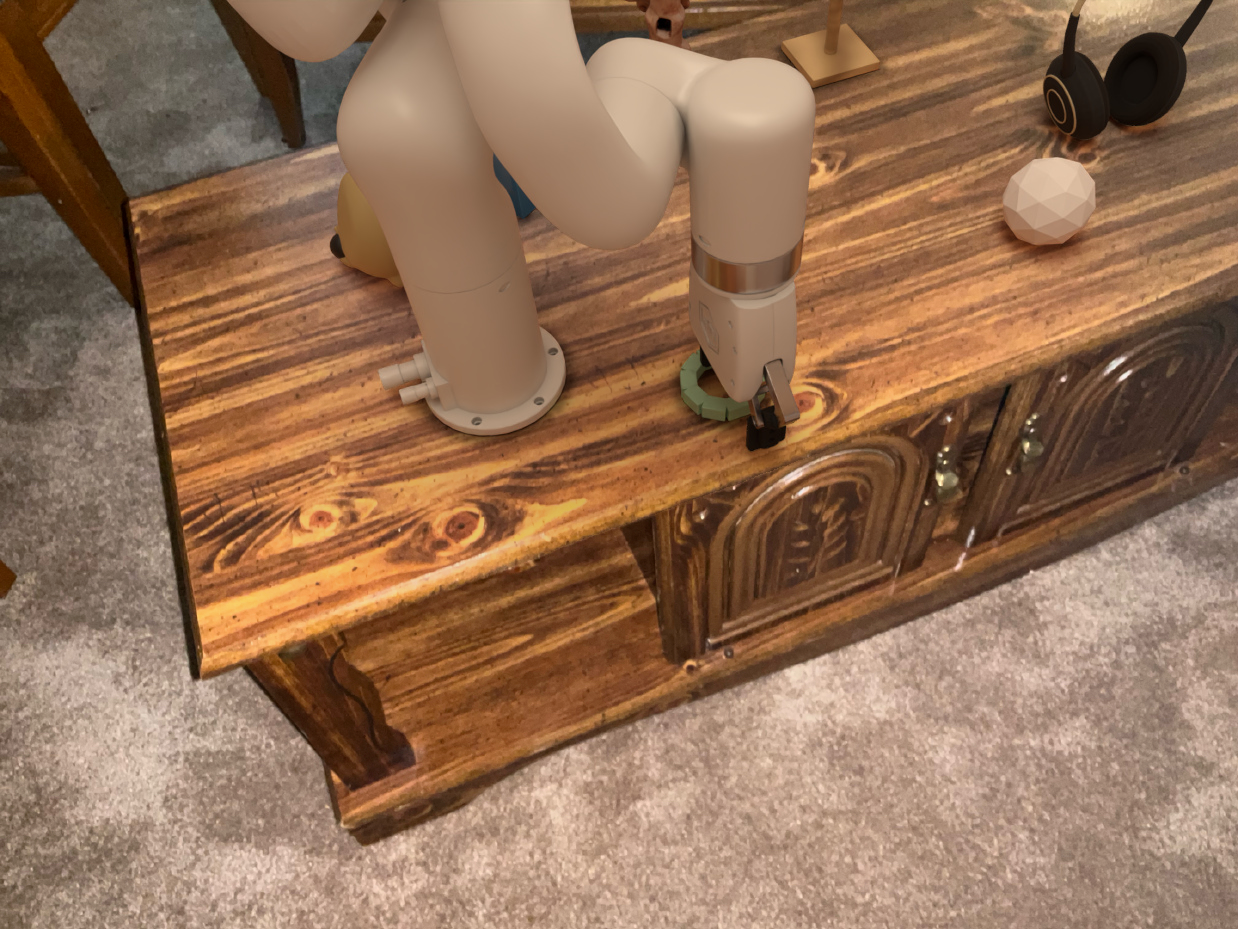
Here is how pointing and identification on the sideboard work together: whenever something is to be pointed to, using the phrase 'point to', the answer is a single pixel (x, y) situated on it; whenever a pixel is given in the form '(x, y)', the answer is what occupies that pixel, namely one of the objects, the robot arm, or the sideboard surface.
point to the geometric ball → (1049, 200)
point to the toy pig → (361, 235)
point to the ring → (701, 400)
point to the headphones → (1118, 80)
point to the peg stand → (830, 52)
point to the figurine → (665, 20)
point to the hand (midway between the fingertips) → (741, 400)
